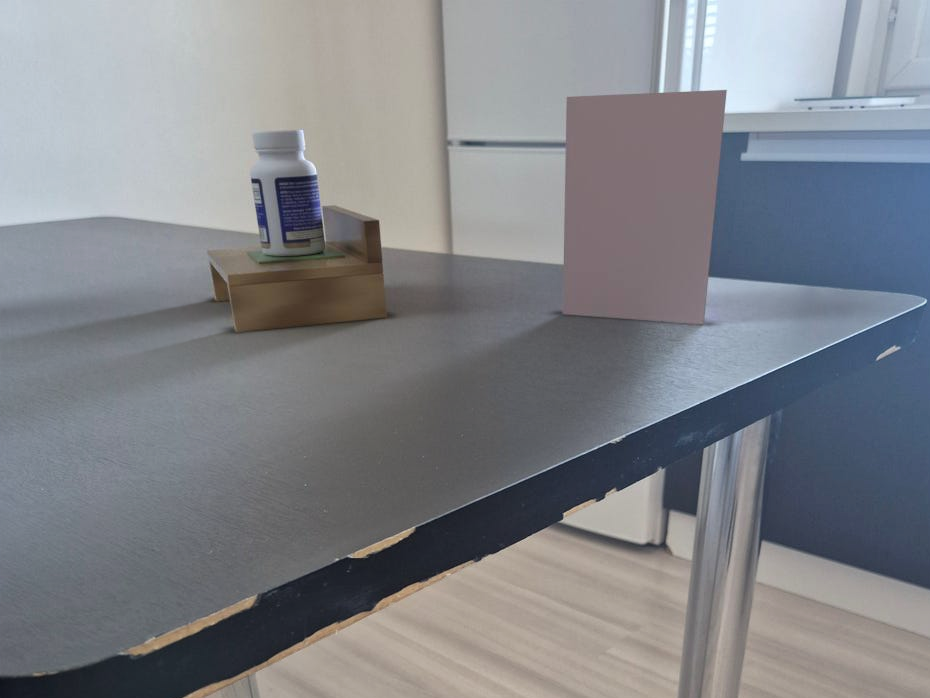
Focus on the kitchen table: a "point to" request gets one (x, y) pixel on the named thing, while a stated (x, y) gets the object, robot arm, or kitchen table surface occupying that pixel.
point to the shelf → (306, 278)
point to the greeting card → (641, 204)
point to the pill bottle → (286, 195)
